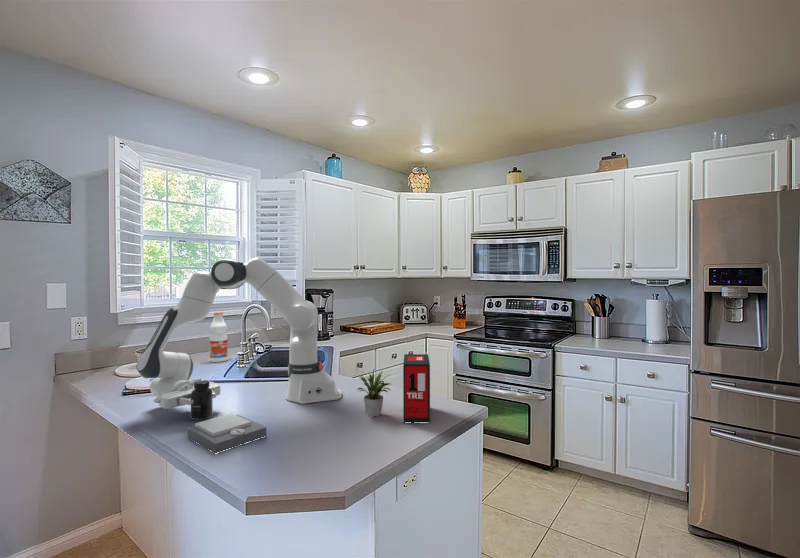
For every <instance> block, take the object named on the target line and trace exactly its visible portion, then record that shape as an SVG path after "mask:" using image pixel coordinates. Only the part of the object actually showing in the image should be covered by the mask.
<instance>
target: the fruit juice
mask: <svg viewBox="0 0 800 558" xmlns="http://www.w3.org/2000/svg"><path fill="white" fill-rule="evenodd" d="M223 314H224V312H222V311H214V312H213V318H212V322H211V324H210V326H209V331H210V333H209V362H211V363H220V362H221V363H222V362H226V361H227V360H228V359H229V358H228V334H227V330H228V326H227V325H228V324H227V323H226V322H225V320H224V316H223Z"/></svg>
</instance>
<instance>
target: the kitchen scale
mask: <svg viewBox="0 0 800 558" xmlns="http://www.w3.org/2000/svg"><path fill="white" fill-rule="evenodd" d="M264 436H267V426H264V425H263V424H260V423H258V422H255V421H254V420H252V419H251V420H250V419H249V418H247V417H244V416H242V415H240V414H234V413H232V412H231V413H228V414H225V415H222V416H217V417H214V418H209V419H207V420H203V421H199V422H196V423H194V426H191V427H187V438H188V439H189V438H190V439H189V440H191V439H192V440H193V442H194V441H195V442H194V443H196V442H197V443H199V444H200V445H202V446H204V447H205V448H207V449H209V450H211V451H212V452H214V453H217V452H220V451H223V450H226V449H229V448H232V447H235V446H238V445H240V444H244V443H246V442H249V441H253V440H255V439H258V438H261V437H264ZM192 440H191V441H192ZM253 442H254V441H253ZM197 443H196V444H197ZM199 444H198V445H199ZM200 445H199V446H200ZM244 445H245V444H244ZM202 446H201V447H202ZM204 447H203V448H204ZM205 448H204V449H205ZM207 449H206V450H207ZM209 450H208V451H209ZM212 452H211V453H212ZM214 453H213V454H214Z"/></svg>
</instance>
